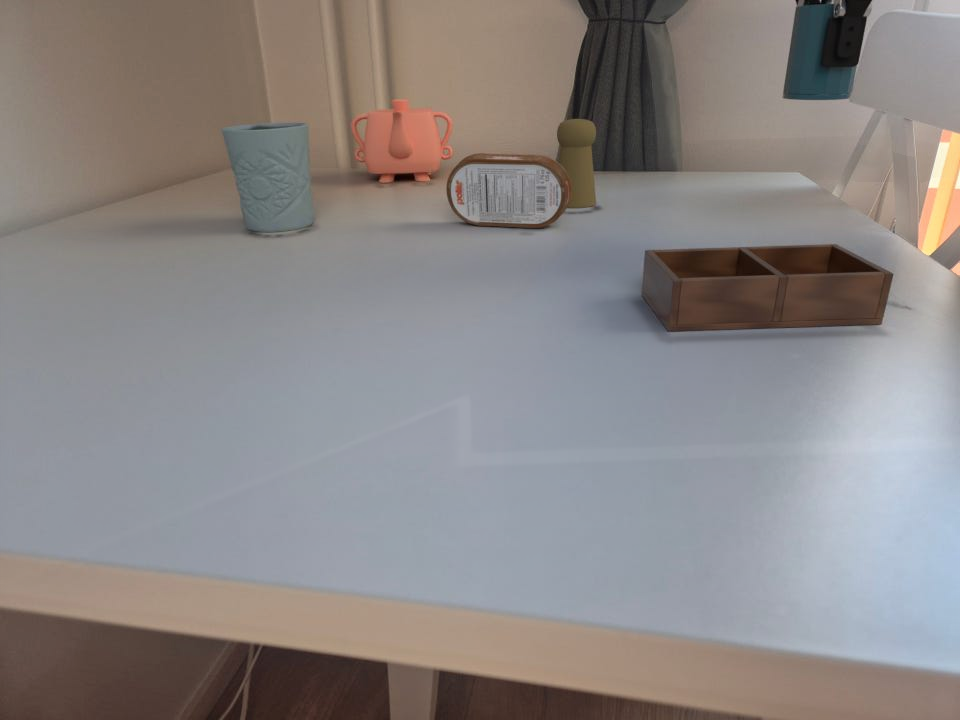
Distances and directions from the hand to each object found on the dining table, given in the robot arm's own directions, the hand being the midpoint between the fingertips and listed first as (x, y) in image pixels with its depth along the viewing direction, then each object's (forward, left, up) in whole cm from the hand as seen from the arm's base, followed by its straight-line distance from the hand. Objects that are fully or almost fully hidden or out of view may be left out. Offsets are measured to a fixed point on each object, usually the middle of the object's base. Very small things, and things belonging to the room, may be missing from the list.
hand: (821, 64), depth 64 cm
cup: (0, 0, -3) cm, 3 cm away
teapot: (+45, -50, -18) cm, 69 cm away
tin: (+29, -12, -18) cm, 37 cm away
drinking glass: (+58, -17, -18) cm, 63 cm away
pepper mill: (+19, -24, -18) cm, 36 cm away
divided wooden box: (+11, +19, -18) cm, 28 cm away
